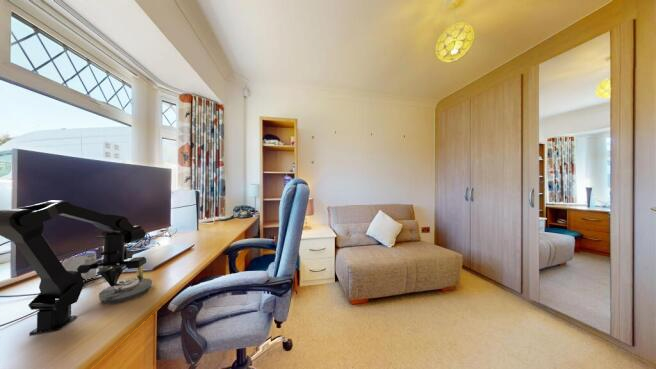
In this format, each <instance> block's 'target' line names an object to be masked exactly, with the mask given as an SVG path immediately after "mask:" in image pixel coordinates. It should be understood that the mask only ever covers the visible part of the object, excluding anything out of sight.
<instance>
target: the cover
mask: <svg viewBox="0 0 656 369" xmlns="http://www.w3.org/2000/svg"><path fill="white" fill-rule="evenodd" d="M138 285H139V279H138V278H137V277H128V278H124V279H121V280H120V281H117V283H116V284H115V285H114V291H115V292H122V291H127V290H130V289H133V288H135V287H137V286H138Z"/></svg>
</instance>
